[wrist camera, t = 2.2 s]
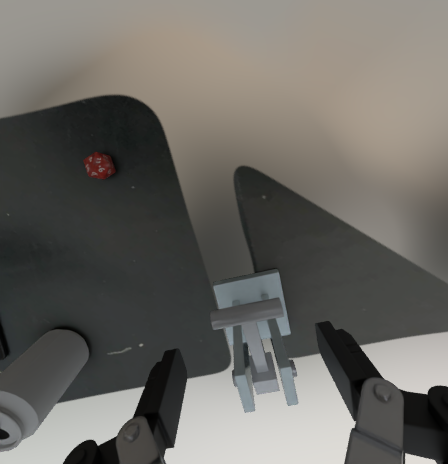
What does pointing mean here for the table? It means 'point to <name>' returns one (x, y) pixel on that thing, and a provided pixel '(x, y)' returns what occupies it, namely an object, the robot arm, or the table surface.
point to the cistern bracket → (253, 291)
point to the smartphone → (2, 348)
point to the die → (99, 165)
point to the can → (38, 383)
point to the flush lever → (253, 337)
